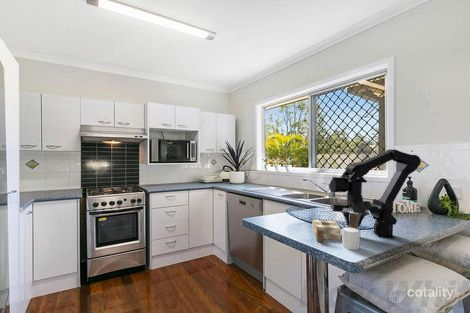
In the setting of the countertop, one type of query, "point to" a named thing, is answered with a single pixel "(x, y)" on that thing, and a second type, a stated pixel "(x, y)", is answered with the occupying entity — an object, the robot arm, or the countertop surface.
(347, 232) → the white cylinder
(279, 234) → the countertop surface
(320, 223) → the hole block
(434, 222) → the countertop surface
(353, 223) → the tall pin
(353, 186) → the robot arm
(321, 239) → the short pin
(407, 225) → the countertop surface
